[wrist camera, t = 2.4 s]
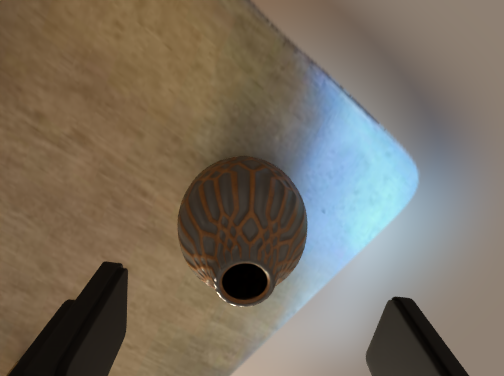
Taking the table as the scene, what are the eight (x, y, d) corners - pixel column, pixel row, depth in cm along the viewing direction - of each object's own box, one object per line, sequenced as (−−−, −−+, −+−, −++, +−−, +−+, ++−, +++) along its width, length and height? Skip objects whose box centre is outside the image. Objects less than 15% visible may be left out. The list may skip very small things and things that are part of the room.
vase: (307, 220, 21) (351, 319, 13) (214, 253, 22) (201, 366, 13) (273, 127, 18) (302, 175, 10) (170, 167, 19) (120, 243, 11)
